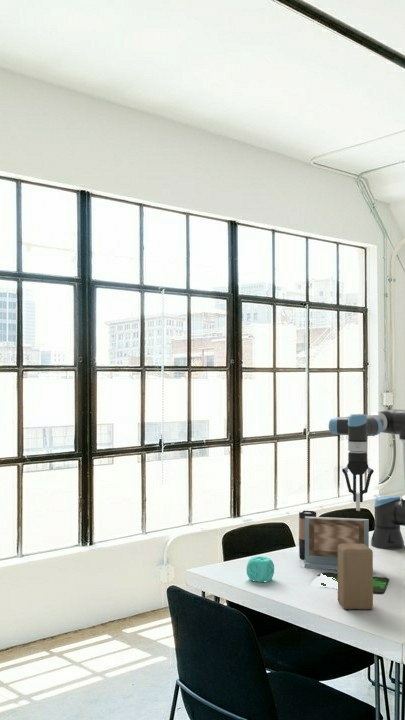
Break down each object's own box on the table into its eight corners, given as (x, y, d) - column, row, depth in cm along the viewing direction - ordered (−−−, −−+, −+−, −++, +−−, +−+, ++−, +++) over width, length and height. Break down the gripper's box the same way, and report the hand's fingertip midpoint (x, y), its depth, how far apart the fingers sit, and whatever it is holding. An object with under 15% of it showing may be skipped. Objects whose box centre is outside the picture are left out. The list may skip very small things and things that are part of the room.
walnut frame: (363, 557, 276) (363, 520, 277) (364, 558, 274) (364, 521, 275) (309, 554, 280) (309, 517, 281) (308, 555, 278) (309, 518, 279)
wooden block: (365, 601, 236) (365, 543, 237) (373, 610, 226) (373, 549, 227) (337, 601, 236) (336, 543, 237) (343, 610, 226) (343, 549, 227)
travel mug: (317, 560, 293) (317, 513, 294) (299, 560, 293) (300, 513, 294) (315, 556, 300) (315, 510, 301) (297, 556, 301) (297, 510, 301)
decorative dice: (274, 579, 263) (274, 558, 264) (264, 583, 257) (264, 562, 257) (256, 575, 268) (256, 555, 268) (246, 580, 261) (246, 559, 261)
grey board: (368, 566, 284) (368, 517, 285) (369, 571, 276) (368, 521, 277) (305, 562, 289) (305, 515, 290) (304, 567, 281) (304, 518, 282)
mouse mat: (308, 587, 254) (308, 584, 254) (319, 572, 274) (319, 570, 274) (383, 595, 244) (383, 592, 244) (389, 580, 265) (389, 577, 265)
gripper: (341, 452, 275) (341, 511, 274) (374, 453, 273) (375, 512, 272) (341, 450, 283) (341, 507, 282) (373, 451, 280) (374, 509, 279)
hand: (358, 510), depth 277 cm, fingers closed
